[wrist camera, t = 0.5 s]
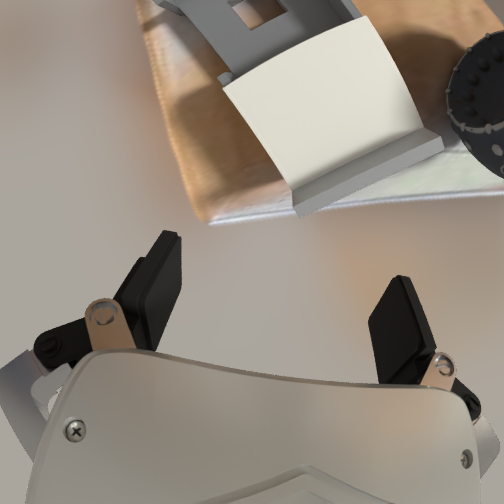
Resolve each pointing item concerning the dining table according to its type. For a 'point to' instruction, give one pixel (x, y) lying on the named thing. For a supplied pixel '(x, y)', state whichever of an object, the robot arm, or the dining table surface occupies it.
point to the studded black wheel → (480, 101)
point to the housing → (260, 28)
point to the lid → (333, 115)
